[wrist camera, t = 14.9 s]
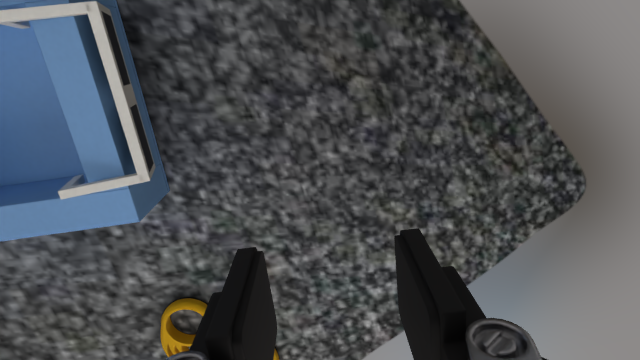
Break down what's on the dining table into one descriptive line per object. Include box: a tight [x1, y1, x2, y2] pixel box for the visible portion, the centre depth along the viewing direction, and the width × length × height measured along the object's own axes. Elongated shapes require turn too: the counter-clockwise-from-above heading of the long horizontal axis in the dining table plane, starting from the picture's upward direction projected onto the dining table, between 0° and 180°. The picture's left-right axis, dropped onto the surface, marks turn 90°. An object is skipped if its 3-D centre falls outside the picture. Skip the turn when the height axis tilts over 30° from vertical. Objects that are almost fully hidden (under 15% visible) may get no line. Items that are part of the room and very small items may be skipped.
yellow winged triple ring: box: [161, 298, 279, 360], centre depth 44 cm, size 17×2×10 cm
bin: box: [0, 0, 170, 241], centre depth 32 cm, size 20×20×8 cm
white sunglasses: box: [0, 1, 155, 200], centre depth 29 cm, size 6×13×4 cm, turn 8°
